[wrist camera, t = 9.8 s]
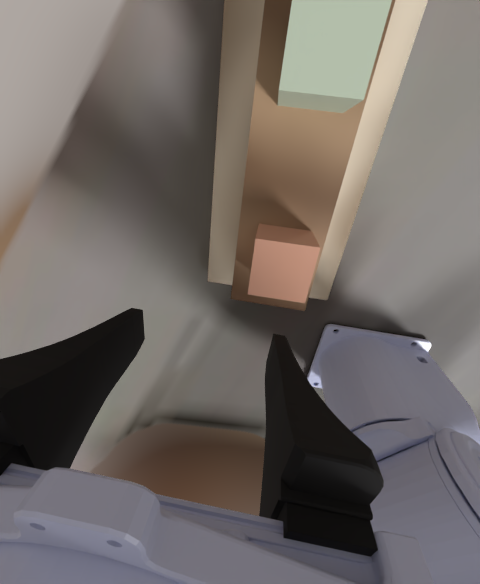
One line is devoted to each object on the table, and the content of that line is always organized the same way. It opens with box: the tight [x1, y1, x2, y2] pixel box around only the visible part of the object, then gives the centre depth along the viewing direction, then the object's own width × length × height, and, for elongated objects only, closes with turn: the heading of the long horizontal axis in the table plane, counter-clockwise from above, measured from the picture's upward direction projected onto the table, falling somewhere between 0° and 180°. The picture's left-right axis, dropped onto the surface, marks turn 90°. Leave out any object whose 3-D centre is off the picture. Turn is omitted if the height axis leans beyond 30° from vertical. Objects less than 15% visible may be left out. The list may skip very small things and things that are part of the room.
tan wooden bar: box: [231, 0, 395, 311], centre depth 14 cm, size 16×5×4 cm, turn 173°
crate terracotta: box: [248, 224, 320, 303], centre depth 13 cm, size 3×3×3 cm
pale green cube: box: [278, 0, 392, 113], centre depth 9 cm, size 3×3×3 cm
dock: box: [208, 0, 428, 300], centre depth 17 cm, size 10×18×2 cm, turn 173°
